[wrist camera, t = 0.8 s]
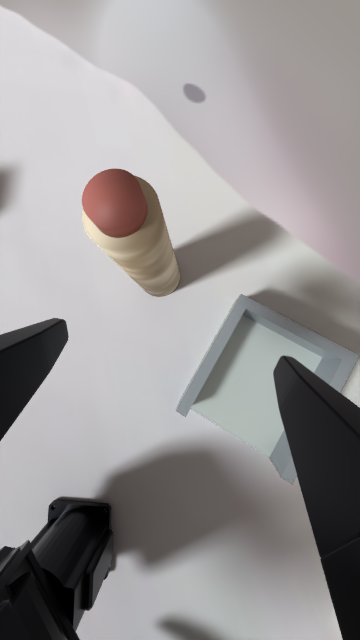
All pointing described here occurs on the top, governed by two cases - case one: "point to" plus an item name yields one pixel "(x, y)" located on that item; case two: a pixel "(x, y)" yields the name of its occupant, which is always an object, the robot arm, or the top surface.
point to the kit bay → (259, 376)
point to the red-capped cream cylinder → (131, 229)
